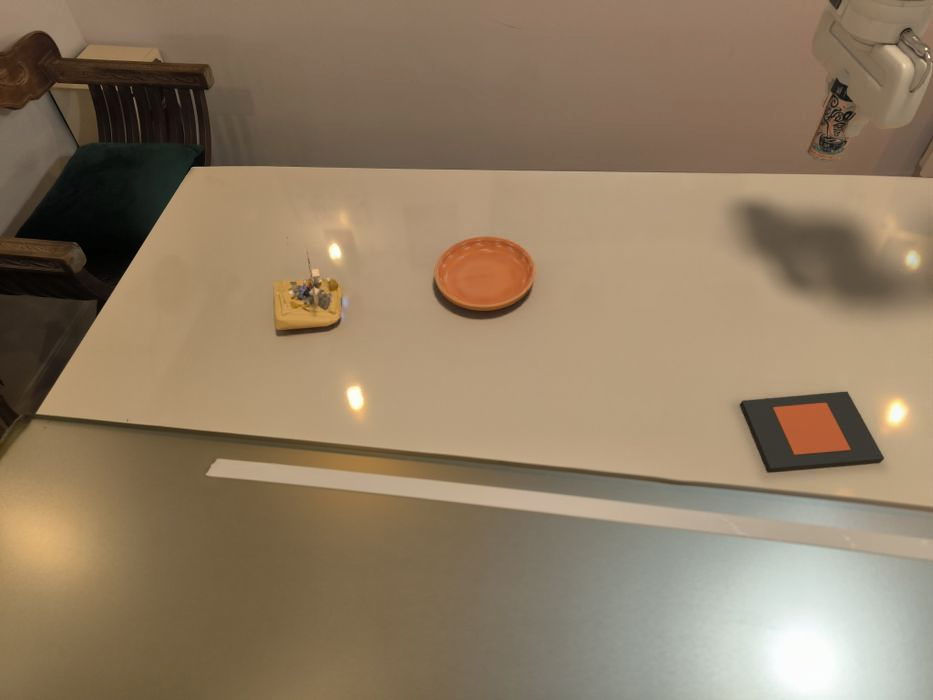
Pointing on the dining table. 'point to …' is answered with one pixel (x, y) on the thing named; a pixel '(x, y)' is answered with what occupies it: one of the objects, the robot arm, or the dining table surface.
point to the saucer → (484, 273)
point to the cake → (307, 302)
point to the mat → (810, 431)
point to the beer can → (832, 123)
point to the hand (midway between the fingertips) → (838, 121)
